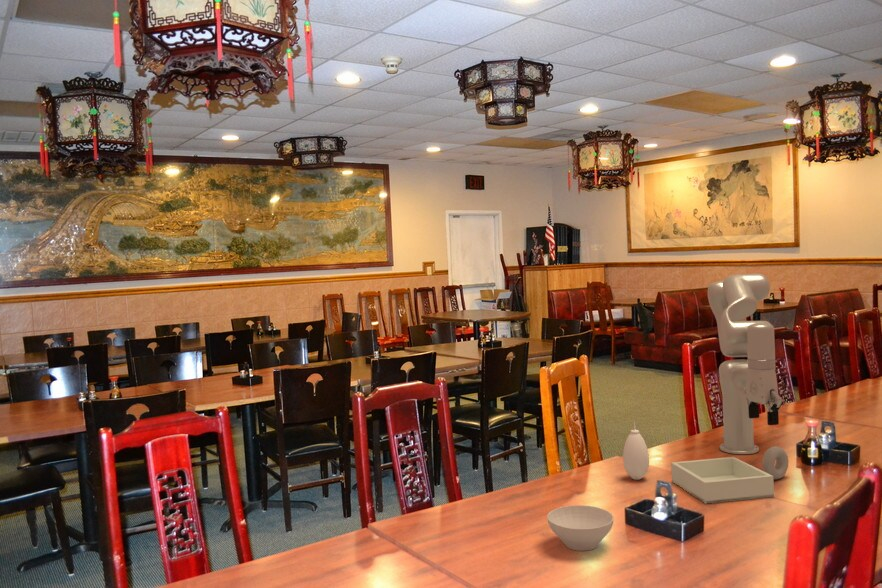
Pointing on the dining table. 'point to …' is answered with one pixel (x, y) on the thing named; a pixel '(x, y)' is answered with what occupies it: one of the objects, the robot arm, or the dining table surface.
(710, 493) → the bin
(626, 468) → the sauce bottle
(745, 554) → the dining table surface
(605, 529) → the bowl
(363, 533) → the dining table surface
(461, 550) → the dining table surface
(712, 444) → the dining table surface
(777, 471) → the donut
